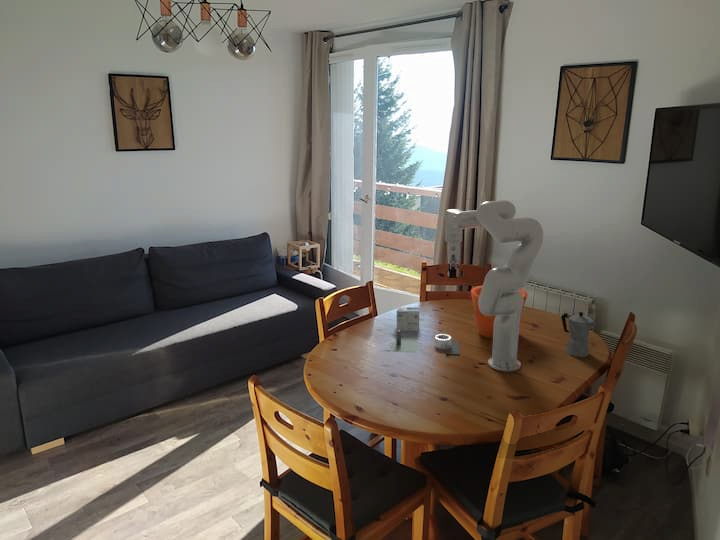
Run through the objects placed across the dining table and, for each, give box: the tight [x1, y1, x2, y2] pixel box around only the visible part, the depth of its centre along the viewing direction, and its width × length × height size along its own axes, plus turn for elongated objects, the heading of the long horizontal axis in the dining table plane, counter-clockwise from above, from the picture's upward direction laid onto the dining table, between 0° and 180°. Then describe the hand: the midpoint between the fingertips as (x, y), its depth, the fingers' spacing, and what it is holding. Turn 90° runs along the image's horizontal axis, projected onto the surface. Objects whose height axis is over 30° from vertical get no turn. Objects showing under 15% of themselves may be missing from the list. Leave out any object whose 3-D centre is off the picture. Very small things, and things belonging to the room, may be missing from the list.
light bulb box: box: [396, 306, 420, 332], centre depth 243 cm, size 11×7×11 cm, turn 84°
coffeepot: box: [561, 311, 596, 358], centre depth 214 cm, size 15×9×18 cm, turn 33°
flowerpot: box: [470, 284, 528, 340], centre depth 236 cm, size 25×25×20 cm
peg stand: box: [388, 330, 418, 353], centre depth 225 cm, size 16×16×7 cm
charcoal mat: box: [444, 340, 461, 356], centre depth 223 cm, size 14×14×1 cm
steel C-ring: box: [434, 333, 452, 351], centre depth 222 cm, size 7×7×4 cm
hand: (452, 274), depth 232 cm, fingers open, 9 cm apart
